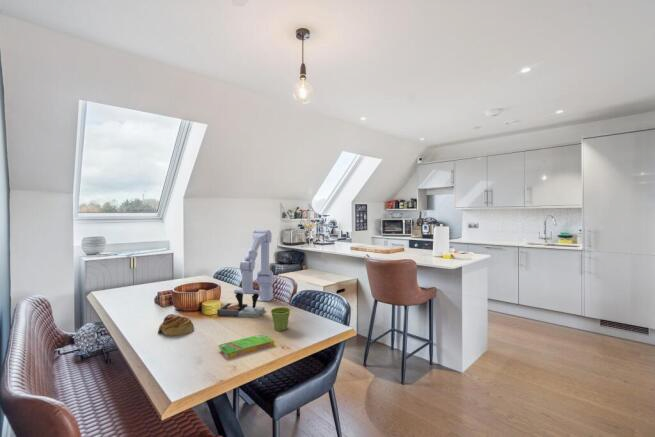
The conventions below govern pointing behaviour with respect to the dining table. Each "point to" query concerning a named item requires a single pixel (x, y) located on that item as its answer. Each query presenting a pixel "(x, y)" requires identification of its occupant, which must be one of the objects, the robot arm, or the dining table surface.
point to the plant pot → (280, 318)
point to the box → (225, 312)
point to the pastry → (176, 325)
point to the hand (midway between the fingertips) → (247, 307)
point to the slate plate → (251, 311)
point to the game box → (246, 345)
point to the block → (233, 306)
